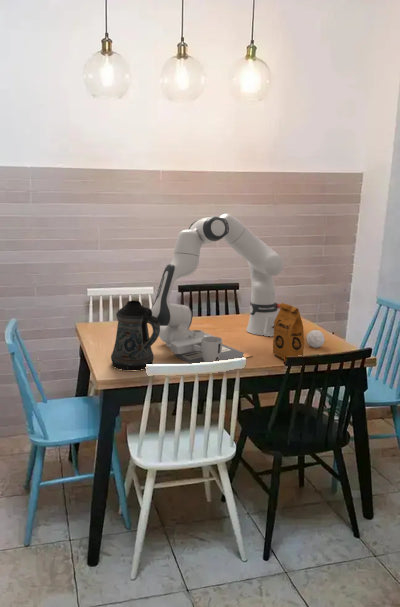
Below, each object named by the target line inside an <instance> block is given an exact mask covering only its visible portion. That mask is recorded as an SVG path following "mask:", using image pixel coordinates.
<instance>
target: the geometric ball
mask: <svg viewBox="0 0 400 607" xmlns="http://www.w3.org/2000/svg"><path fill="white" fill-rule="evenodd" d="M325 340H326V338H325V335H324V333H323V332H322V331H321V330H318V329H313V330H311V331H309V332H308V333H307V335H306V342H307V345H309V347H311V348H312V347H314V348H315V349H317V348H320V347H322V346H323V345H324V343H325ZM314 348H313V349H314Z"/></svg>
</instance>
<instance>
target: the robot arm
mask: <svg viewBox="0 0 400 607" xmlns="http://www.w3.org/2000/svg"><path fill="white" fill-rule="evenodd" d="M221 239H222V240H224V241H225V242H226V243H227V244H228V245H229V246H230V247H231V248H232V249H233V251H236V253H237V254H238V255H240V257H242V258H244V259H245V260H246V262H247V265H248V269H249V270H248V271H249V275H250V284H251V285H250V286H251V292H250V293H251V295H250V296H251V297H250V298H251V299H250V302H249V319H248V323H247V327H246V332H248V333H249V334H252V335H256V336H263V335H264V337H268V336H270V337H274V321H275V319H276V317H277V315H278V313H279V311H280V309H281V307H280V304H281V303H277V302H276V301H275V300H276V284H275V282H274V281H275V280H274V277H275V276H278V275H280V274H281V273H282V271H283V269H284V266H285V260H284V259H283V257H282V256H281V255H279V254H278V253H277V252H276V251H275V250H274V249H272V248H271V247H270V246H269V245H268V244H266V243H265V242H264V241H262V240H261V239H260V238H259V237H257V236H256V235H255V234H254V233H253V232H252V231H251V230H250V229H249V228H248V227H247V226H246V225H245V224H244V223H243V222H242V221H241V220H239V219H238V218H236V217H235V216H234V215H232V214H230V213H223V214H221V215H220V216H215V215H213V216H209V217H208V216H207V217H203V218H201V219H198V220H196V221H195V220H194V222H192V223H191V224H190V226H189V227H188V229H187V228H186V229H183V230H181V231H180V232H179V233H178V234H177V238H176V242H175V244H174V251H173V256H172V260H171V262H170V263H169V264H166V266H165V268H164V270H163V273H162V275H161V276H162V277H161V280H160V283H159V285H158V290H157V293H156V296H155V300H154V302H153V304H152V306H151V308H150V309H151V311H152V316H154V317H156V319H157V320H158V322H159V324H160V333H159V336H158V338H159V339H160V340H161V341H162V342H163V343H165V344H166V347H167V348H168V349H170V351H171V352H173V353H174V354H183V353H188V352H192V351H201V352H202V340H201V339H202V338H203V337H208V336H214V337H216V336H215V335H213V334H210V333H208V332H204V330H201V329H198V330H197V329H196V330H194V329H193V330H191V329H190V327H191V325H192V322H193V312H192V310H191V308H190V307H189V306H188V305H184V304H179V303H171V302H170V298H171V293H172V289H173V286H174V284H175V282H176V281H177V280H179V279H181V278H185V277H188V276H191V275H193V274H194V273H195V272H196V271H197V269H198V266H199V263H200V254H201V248H202V246H203V245H204V244H211V243H214V242H218V241H220V240H221Z"/></svg>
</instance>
